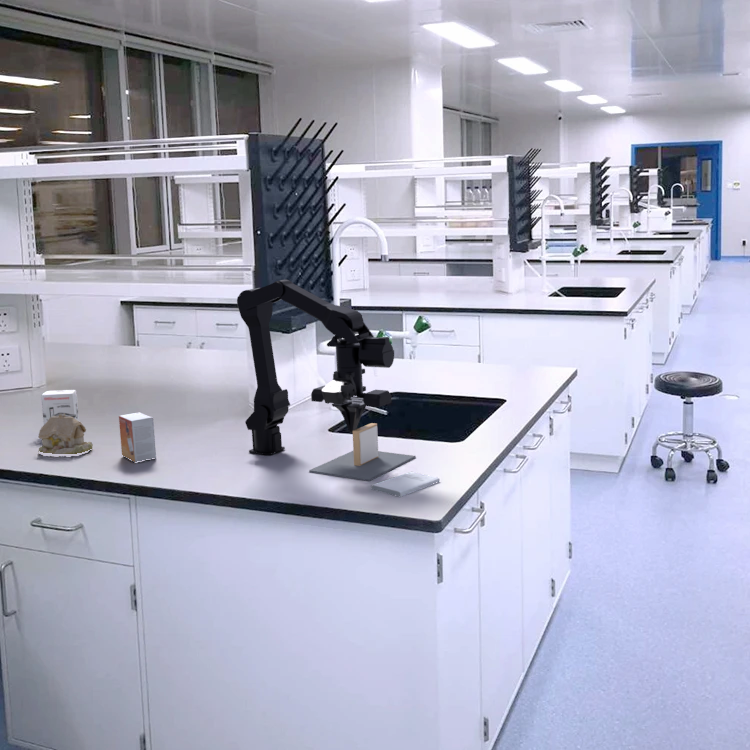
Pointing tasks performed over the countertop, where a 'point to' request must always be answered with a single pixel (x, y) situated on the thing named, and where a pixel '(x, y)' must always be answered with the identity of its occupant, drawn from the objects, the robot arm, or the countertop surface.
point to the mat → (362, 466)
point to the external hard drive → (405, 483)
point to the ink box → (59, 404)
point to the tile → (365, 444)
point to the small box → (137, 436)
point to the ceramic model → (63, 436)
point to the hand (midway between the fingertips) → (352, 432)
